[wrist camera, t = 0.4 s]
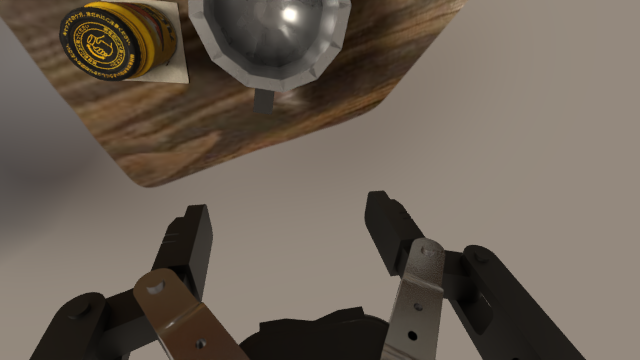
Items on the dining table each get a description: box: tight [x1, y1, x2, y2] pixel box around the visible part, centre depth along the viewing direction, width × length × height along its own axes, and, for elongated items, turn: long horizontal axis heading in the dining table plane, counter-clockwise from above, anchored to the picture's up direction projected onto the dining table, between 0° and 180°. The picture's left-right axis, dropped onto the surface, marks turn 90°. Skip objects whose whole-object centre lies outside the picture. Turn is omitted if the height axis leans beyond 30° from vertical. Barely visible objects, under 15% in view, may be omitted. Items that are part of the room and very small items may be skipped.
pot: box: [188, 0, 351, 114], centre depth 28 cm, size 20×14×8 cm
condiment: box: [59, 0, 189, 83], centre depth 26 cm, size 7×8×12 cm
